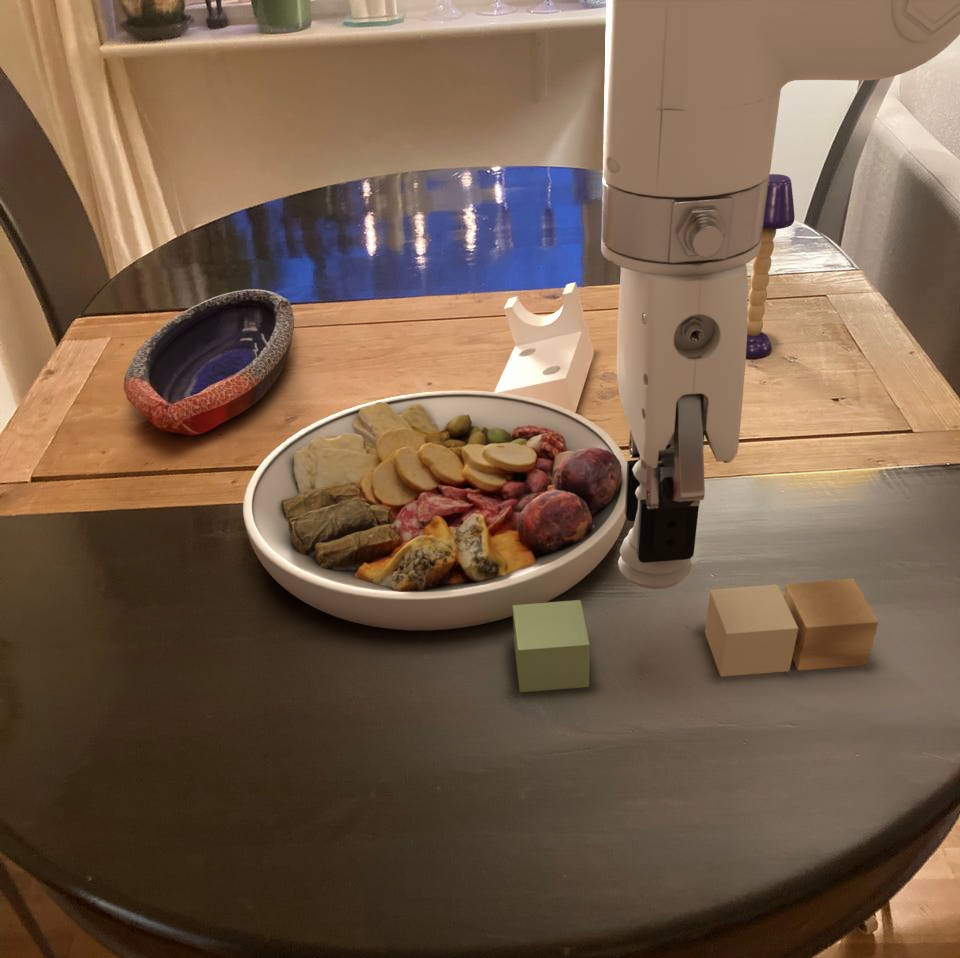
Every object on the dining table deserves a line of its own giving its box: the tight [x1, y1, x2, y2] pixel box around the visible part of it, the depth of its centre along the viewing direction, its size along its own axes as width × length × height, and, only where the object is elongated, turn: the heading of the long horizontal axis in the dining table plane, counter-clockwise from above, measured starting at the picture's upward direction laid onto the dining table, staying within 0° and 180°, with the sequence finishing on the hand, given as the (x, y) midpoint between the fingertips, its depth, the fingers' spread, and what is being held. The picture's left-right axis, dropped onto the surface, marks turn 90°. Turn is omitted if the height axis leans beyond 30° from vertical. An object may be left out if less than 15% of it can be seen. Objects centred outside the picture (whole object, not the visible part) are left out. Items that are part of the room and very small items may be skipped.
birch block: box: [783, 578, 879, 671], centre depth 62 cm, size 4×4×4 cm
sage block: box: [512, 599, 591, 693], centre depth 62 cm, size 4×4×4 cm
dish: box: [123, 288, 295, 436], centre depth 99 cm, size 16×31×5 cm, turn 172°
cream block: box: [704, 584, 798, 677], centre depth 62 cm, size 4×4×4 cm
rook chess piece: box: [617, 445, 693, 590], centre depth 56 cm, size 4×4×8 cm
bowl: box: [242, 390, 628, 631], centre depth 75 cm, size 30×30×8 cm
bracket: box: [493, 282, 595, 413], centre depth 93 cm, size 13×7×8 cm, turn 167°
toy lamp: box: [746, 173, 795, 359], centre depth 94 cm, size 5×5×17 cm
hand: (658, 534), depth 57 cm, fingers closed on rook chess piece, 3 cm apart
